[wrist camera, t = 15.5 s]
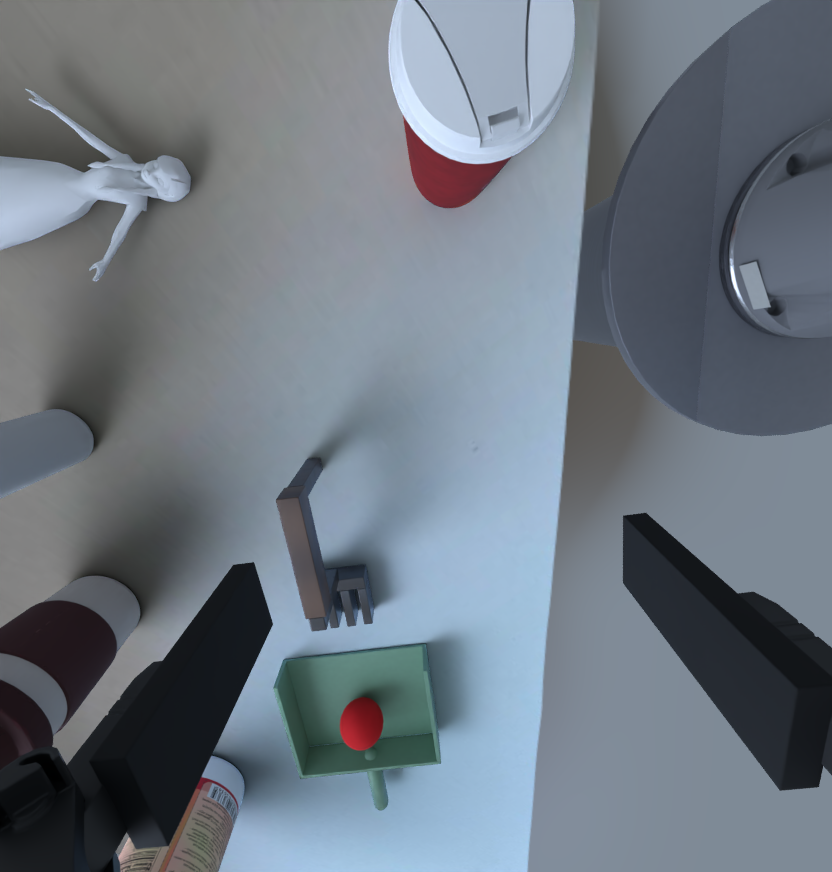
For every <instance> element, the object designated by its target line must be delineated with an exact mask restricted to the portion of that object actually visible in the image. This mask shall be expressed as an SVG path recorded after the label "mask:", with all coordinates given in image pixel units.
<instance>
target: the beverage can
mask: <svg viewBox="0 0 832 872" xmlns="http://www.w3.org/2000/svg"><path fill="white" fill-rule="evenodd" d="M93 444H94V438H93V433H92V432H91V430H90V428H89V427H88V425H87V424H86V423H85V422H84V421H83V420H82V419H81V418H79V417H78V416H76V415H74V414H73V413H71V412H68V411H65V410H62V409H51V410H47V411H43V412H39V413H35V414H32V415H28V416H24V417H21V418H17V419H13V420H9V421H6V422H2V423H0V499H1V498H3V497H5V496H7V495H9V494H11V493H14V492H16V491H18V490H20V489H22V488H24V487H26V486H29V485H31V484H33V483H35V482H37V481H40V480H42V479H44V478H46V477H48V476H51V475H53V474H55V473H57V472H59V471H62V470H64V469H66V468H68V467H70V466H73V465H75V464H77V463H79V462H81V461H83V460H85V459H86V458H87V457H88V456H89V455H90V454H91V452H92V450H93Z"/></svg>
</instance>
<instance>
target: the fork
mask: <svg viewBox="0 0 832 872" xmlns="http://www.w3.org/2000/svg"><path fill="white" fill-rule="evenodd" d="M322 470H323V469H322V464H321V459H320V458H312V459H307V460H306V461H305V463H304V464H303V465H302V467H301V468H300V470H299V471H298V473H297V474H296V476H295V477H294V478H293V480H292V481H291V483H290V484H289V486H288V487H287V488H284V489H283V491H282V492H281V493H280V495H279V496H278V498H277V499H276V503H277V507H278V511H279V515H280V519H281V523H282V527H283V531H284V535H285V539H286V543H287V547H288V550H289V554H290V558H291V562H292V566H293V570H294V574H295V578H296V582H297V586H298V590H299V594H300V598H301V602H302V606H303V610H304V614H305V618H306V619H309V623H310V627H311V631H320V630H326V629H327V626H328V622H330V626H331V628H338V627H339V625H340V620H341V616H342V610H341V605H340V600H339V596H338V591H340V593H341V598H342V603H343V607H344V612H345V617H346V621H347V626H356V621H357V616H358V607H357V602H356V597H355V592H354V589H358V594H359V599H360V604H361V609H362V614H363V619H364V624H372V623H373V615H374V605H373V600H372V594H371V589H370V584H369V579H368V573H367V568H366V565H357V566H349V567H340V568H332V569H324V565H323V561H322V556H321V552H320V547H319V543H318V539H317V534H316V530H315V525H314V521H313V516H312V512H311V507H310V503H309V499H308V496H309V494H310V492H311V490H312V488H313V486H314V485H315V483H316V481H317V479H318V477H319V475H320V474H321V472H322Z"/></svg>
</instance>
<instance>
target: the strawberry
mask: <svg viewBox="0 0 832 872" xmlns="http://www.w3.org/2000/svg"><path fill="white" fill-rule="evenodd" d="M383 722H384V720H383V714H382V711H381V709H380V707H379V705H378V704H377V703H376V702H375V701H374V700H372V699H370V698H367V697H360V698H357V699H354V700H353V701H351V702H350V703H349V704H348V705H347V706H346V708H345V709H344V711H343V713H342V716H341V719H340V733H341V736H342V739H343V740H344V742H345V743H346V744H347V745H348V746H349V747H350V748H352V749H354V750H359V751H360V750H366V749H368V748H370V747H372V746H373V745H374V744H375V743H376V742H377V741H378V739H379V737H380V735H381V733H382V730H383Z"/></svg>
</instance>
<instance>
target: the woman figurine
mask: <svg viewBox="0 0 832 872" xmlns="http://www.w3.org/2000/svg"><path fill="white" fill-rule="evenodd" d="M26 91H28V92H30V93H31V95H33V96H35V97H36V98H35V100H38V102H36V101H34V100H32V99H29V100H30V101H32V102H33V103H35V104H37V105H39V106H40V107H42V108H44V109H47V110H50V111H52V112H53V113H54V114H56V115H57V116H58V117H59V118H61V119H62V120H63V121H64V122H66V123H67V124H68V125H70V126H71V127H72V128H73V129H75V131H76V132H77V133H78V134H79V135H80V136H81V137H82V138H83V139H84V140H85V141H86V142H87V143H89V144H90V145H91V146H93V147H94V148H96V149H98V150H99V151H101V152H102V153H104V154H105V155H106V156H107V157H108V158H110V159H111V160H110V161H107V162H105V163H102V162H98V161H97V162H94V163H91V164H90V165H88V166H89V167H92V169H90V170H89V171H87V172H85V173H83V172H81V171H79V170H76V169H74V168H71V167H69V166H67V165H64V164H62V163H57V162H51V161H45V160H36V159H25V158H14V157H3V156H0V250H2V249H5V248H9V247H12V246H15V245H18V244H21V243H24V242H28V241H31V240H34V239H36V238H38V237H41V236H43V235H45V234H47V233H49V232H51V231H54V230H56V229H58V228H60V227H62V226H65V225H67V224H69V223H71V222H73V221H76V220H78V219H79V218H81V217H82V216H84V215H85V214H86V213H88V211H89V210H90V208H91V207H92V205H93V204H94V203H95V202H96V201H97V200H105V201H112V202H117V203H122V204H126V205H127V207H126V209H125V212H124V215H123V217H122V219H121V220H120V222H119V224H118V225H117V227H116V229H115V231H114V234H113V236H112V239H111V241H112V242H111V244H110V246H109V248H108V250H107V252H106V254H105V256H104V258H103V260H101V261H98V262H96V263H94V264H93V265H92V266H91V267H90V268H89V270H90V271H91V270H92V269H94V268H96V269H97V272H96V275H95V277H94V278H93V281H94V280H95V282H96V281H98V280H99V279H100V278H101V276H102V275H103V274H104V272H105V270H106V268H107V266H108V265H109V263H110V261H111V259H112V258H113V256H114V254H115V253H116V251H117V249H118V248H119V246H120V245H121V244H122V242H123V241H124V239H125V237H126V235H127V232H128V230H129V228H130V227H131V225H132V223H133V222H134V220H135V219H136V218H137V216H138V215H139V214H140V213H141V211H142V210H143V211H147V198H148V197H147V196H150V197H152V198H158V199H163V200H166V201H170V202H175V201H178V200H181V199H182V198H183V197H184V196H185V195H186V194H188V193H189V192H190V185H191V176H190V174H189V173H188V171H187V169H186V167H185V166H184V164H183V163H182V161H180V160H179V159H177V158H173V157H171V156H166V155H162V156H160V157H158V159H157V160H153V161H150V162H147V163H146V164H137V163H135V162H134V161H133V160H132V159H131V157H130V156H129V155H128V154H122V153H120V152H118V151H117V150H115V149H113V148H112V147H110V146H108V145H107V144H105V143H104V142H103V141H101V140H100V139H98V138H97V137H96V136H94V135H93V134H92V133H90V132H89V131H88V130H86V129H85V128H83V127H82V126H80V125H79V124H77V123H76V122H74V121H73V120H72V119H70V118H69V117H67V116H66V115H65V114H63V113H62V112H61V111H59V110H58V109H57V108H56V107H54V106H53V105H51V104H50V103H48V102H47V101H46V100H44V99H43V98H42V97H40V96H39V95H38V94H36V93H35V92H32V91H30V90H28V89H26Z"/></svg>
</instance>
